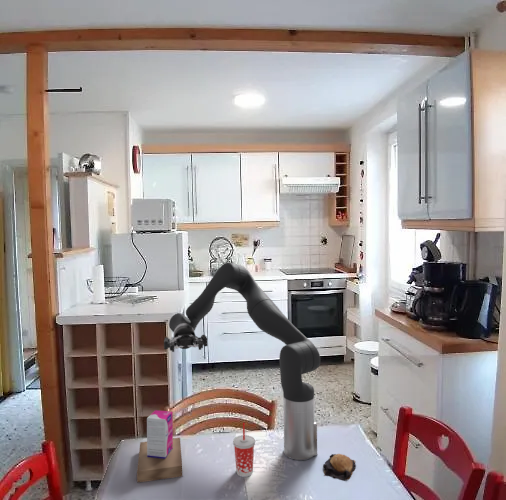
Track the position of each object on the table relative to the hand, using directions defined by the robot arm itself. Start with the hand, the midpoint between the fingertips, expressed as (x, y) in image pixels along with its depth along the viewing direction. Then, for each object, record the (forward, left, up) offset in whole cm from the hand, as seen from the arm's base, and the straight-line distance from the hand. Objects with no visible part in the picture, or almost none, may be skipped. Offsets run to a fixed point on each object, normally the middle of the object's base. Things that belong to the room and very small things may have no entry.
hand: (186, 347), depth 133 cm
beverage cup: (-14, +22, -30) cm, 40 cm away
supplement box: (+9, +12, -27) cm, 31 cm away
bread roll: (-40, +26, -31) cm, 57 cm away
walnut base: (+9, +12, -30) cm, 34 cm away
